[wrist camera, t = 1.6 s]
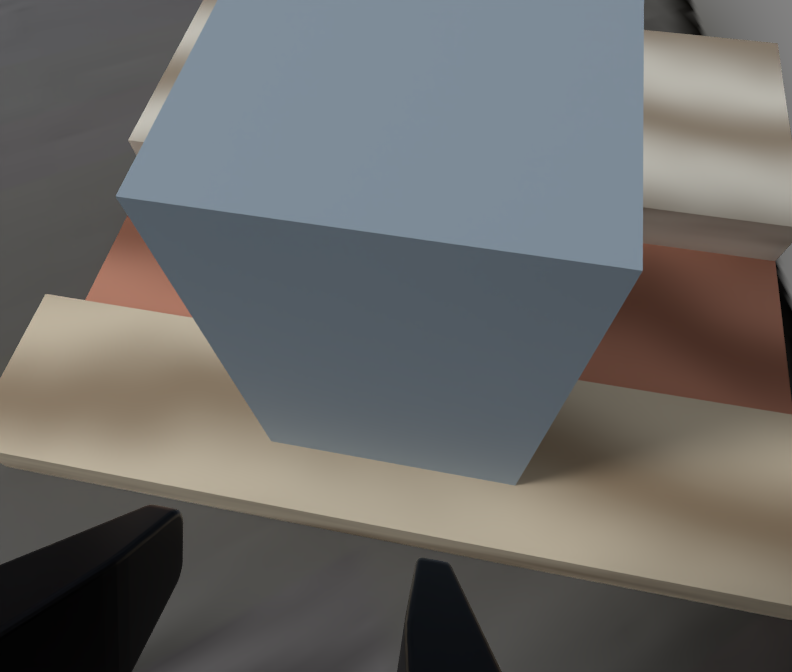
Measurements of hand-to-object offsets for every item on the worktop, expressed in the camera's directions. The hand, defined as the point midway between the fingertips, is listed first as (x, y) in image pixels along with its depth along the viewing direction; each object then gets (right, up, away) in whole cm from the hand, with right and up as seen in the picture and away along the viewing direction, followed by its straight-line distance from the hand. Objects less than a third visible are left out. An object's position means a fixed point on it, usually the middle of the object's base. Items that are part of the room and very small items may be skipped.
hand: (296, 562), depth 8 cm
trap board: (+3, +7, +19) cm, 20 cm away
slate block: (+2, +2, +14) cm, 14 cm away
